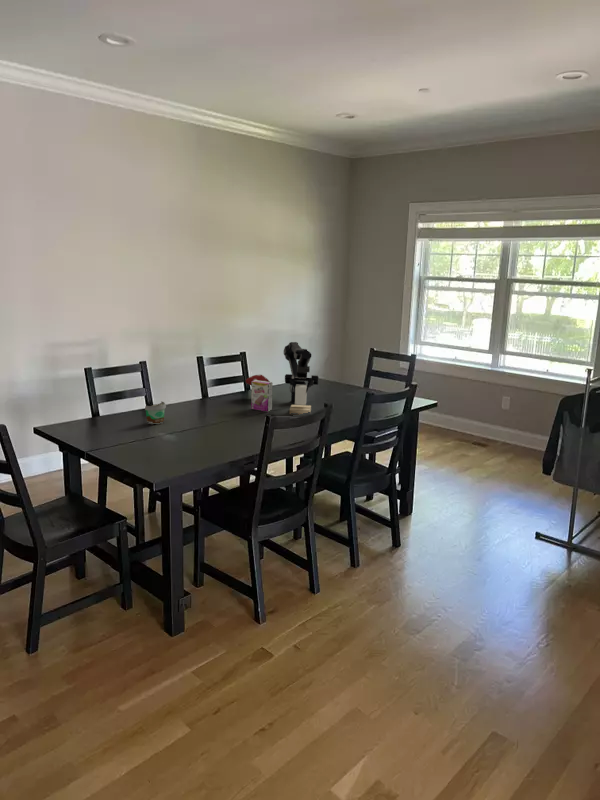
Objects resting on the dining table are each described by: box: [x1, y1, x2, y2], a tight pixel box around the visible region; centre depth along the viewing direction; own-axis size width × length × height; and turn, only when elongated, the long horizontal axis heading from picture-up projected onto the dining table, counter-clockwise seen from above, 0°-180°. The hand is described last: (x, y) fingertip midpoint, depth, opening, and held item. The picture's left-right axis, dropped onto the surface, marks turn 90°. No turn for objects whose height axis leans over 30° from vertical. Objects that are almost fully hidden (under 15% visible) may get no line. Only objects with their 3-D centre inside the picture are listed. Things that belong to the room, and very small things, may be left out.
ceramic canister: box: [294, 384, 308, 405], centre depth 344 cm, size 6×6×10 cm
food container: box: [144, 401, 167, 423], centre depth 315 cm, size 12×6×10 cm, turn 148°
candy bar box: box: [250, 380, 274, 413], centre depth 346 cm, size 11×5×16 cm, turn 65°
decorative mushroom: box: [245, 374, 271, 386], centre depth 370 cm, size 16×16×15 cm
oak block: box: [289, 404, 312, 415], centre depth 346 cm, size 11×11×3 cm
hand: (300, 392), depth 343 cm, fingers closed on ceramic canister, 6 cm apart
